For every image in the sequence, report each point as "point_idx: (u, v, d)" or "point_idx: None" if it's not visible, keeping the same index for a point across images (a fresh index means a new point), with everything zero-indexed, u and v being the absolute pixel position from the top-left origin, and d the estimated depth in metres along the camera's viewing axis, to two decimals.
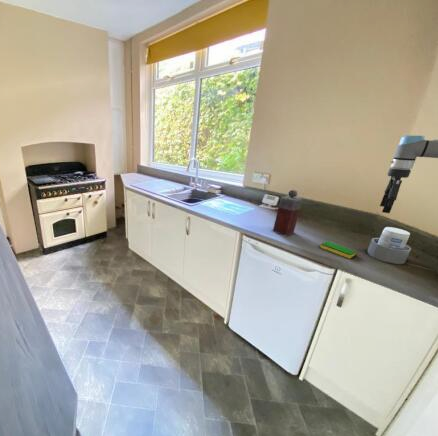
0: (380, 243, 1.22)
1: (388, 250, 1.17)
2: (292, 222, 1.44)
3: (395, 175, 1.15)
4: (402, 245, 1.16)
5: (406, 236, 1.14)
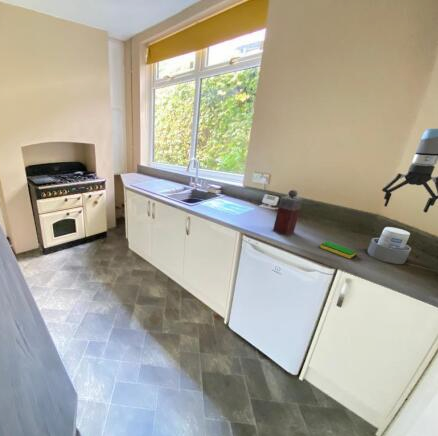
0: (380, 243, 1.22)
1: (388, 250, 1.17)
2: (292, 222, 1.44)
3: None
4: (402, 245, 1.16)
5: (406, 236, 1.14)
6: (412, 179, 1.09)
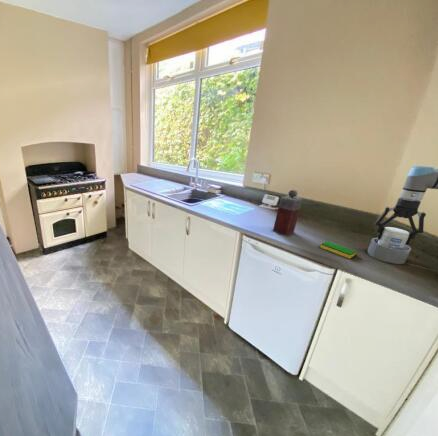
0: (380, 243, 1.22)
1: (388, 250, 1.17)
2: (292, 222, 1.44)
3: (418, 207, 1.11)
4: (402, 245, 1.16)
5: (406, 236, 1.14)
6: (400, 212, 1.15)
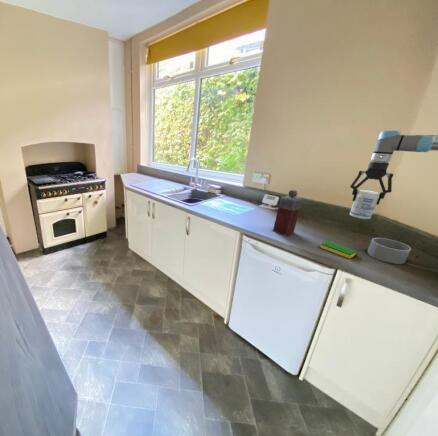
0: (354, 204, 1.33)
1: (388, 250, 1.17)
2: (292, 222, 1.44)
3: (386, 168, 1.22)
4: (373, 204, 1.27)
5: (376, 196, 1.26)
6: (371, 174, 1.26)
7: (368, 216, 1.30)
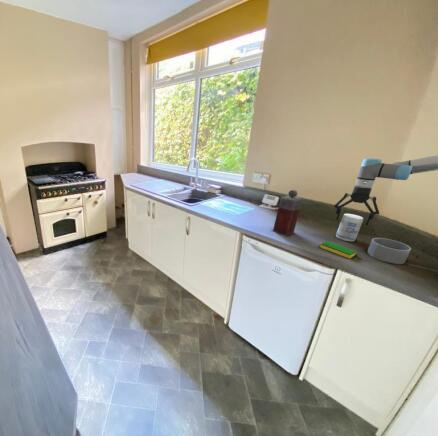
0: (340, 227, 1.42)
1: (388, 250, 1.17)
2: (292, 222, 1.44)
3: (369, 193, 1.30)
4: (357, 228, 1.36)
5: (360, 220, 1.35)
6: (355, 198, 1.34)
7: (352, 239, 1.39)
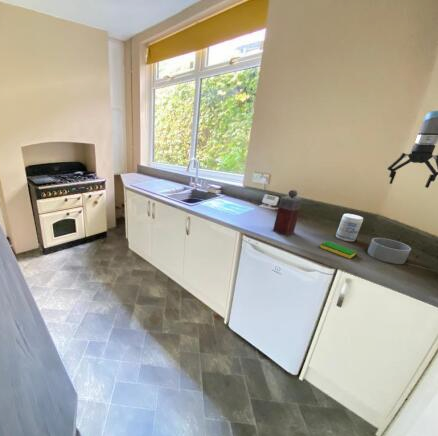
0: (340, 227, 1.42)
1: (388, 250, 1.17)
2: (292, 222, 1.44)
3: None
4: (357, 228, 1.36)
5: (360, 220, 1.35)
6: (415, 157, 1.21)
7: (352, 239, 1.39)
